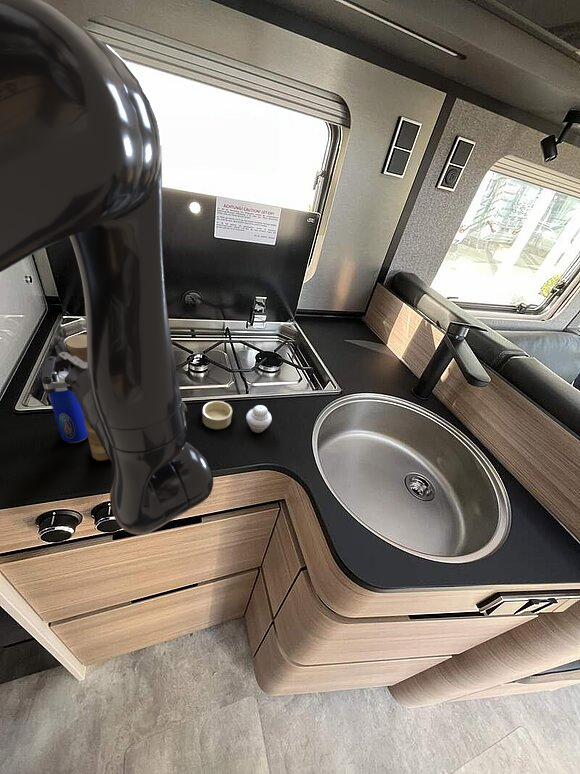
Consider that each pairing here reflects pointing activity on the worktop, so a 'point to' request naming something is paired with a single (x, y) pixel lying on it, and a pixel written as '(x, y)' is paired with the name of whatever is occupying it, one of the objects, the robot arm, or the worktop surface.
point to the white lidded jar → (258, 418)
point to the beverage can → (68, 414)
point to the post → (79, 349)
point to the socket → (217, 414)
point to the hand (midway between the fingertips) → (78, 343)
